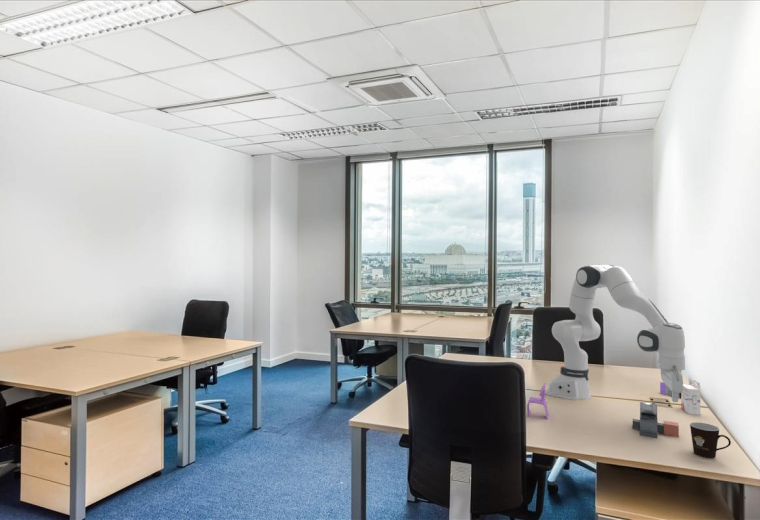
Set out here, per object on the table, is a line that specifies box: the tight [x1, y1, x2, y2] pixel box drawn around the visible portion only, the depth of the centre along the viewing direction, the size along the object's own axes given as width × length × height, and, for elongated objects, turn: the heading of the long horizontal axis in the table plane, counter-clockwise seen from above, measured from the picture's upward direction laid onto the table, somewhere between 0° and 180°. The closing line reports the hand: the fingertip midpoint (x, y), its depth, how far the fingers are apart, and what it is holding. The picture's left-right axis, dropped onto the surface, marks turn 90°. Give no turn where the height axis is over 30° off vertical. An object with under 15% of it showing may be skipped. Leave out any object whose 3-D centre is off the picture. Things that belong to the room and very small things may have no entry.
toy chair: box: [526, 382, 550, 420], centre depth 204 cm, size 8×9×15 cm
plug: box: [632, 418, 680, 437], centre depth 187 cm, size 16×4×4 cm, turn 59°
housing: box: [639, 401, 659, 439], centre depth 188 cm, size 6×17×11 cm, turn 150°
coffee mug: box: [689, 421, 732, 459], centre depth 162 cm, size 12×9×10 cm
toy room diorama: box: [659, 381, 692, 399], centre depth 238 cm, size 12×12×7 cm
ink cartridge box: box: [680, 378, 701, 416], centre depth 212 cm, size 9×5×15 cm, turn 168°
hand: (672, 398), depth 184 cm, fingers open, 8 cm apart
